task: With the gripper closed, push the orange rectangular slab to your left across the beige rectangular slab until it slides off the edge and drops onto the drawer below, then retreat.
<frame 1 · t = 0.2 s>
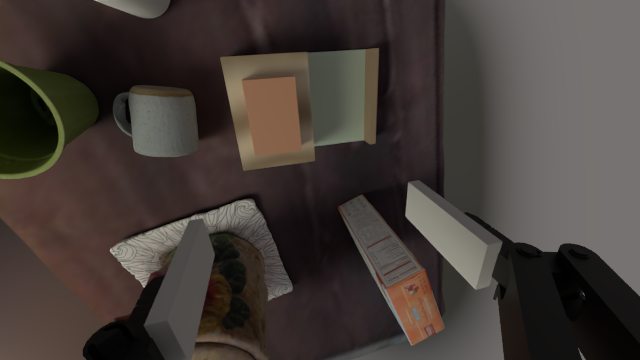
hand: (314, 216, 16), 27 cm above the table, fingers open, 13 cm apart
plant pot: (66, 102, 33), on the table
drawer: (337, 100, 41), on the table
ceramic mug: (164, 116, 36), on the table
orange rectangular slab: (273, 115, 33), point 7 cm above the table, touching beige rectangular slab
beige rectangular slab: (270, 106, 39), on the table
cookie jar: (215, 264, 49), on the table
cracker box: (361, 223, 52), on the table
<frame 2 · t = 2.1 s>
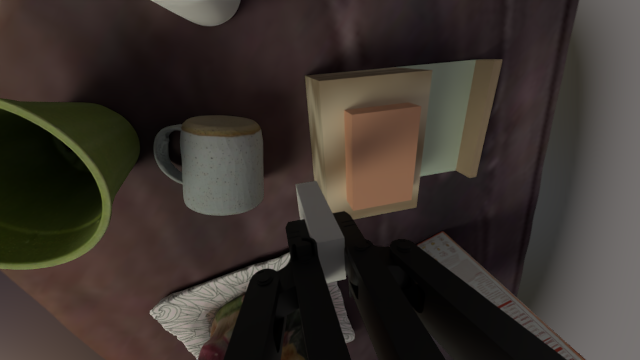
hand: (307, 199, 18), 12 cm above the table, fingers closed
plant pot: (98, 138, 25), on the table
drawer: (431, 123, 32), on the table
ceramic mug: (215, 151, 28), on the table
orange rectangular slab: (375, 154, 24), point 7 cm above the table, touching beige rectangular slab
beige rectangular slab: (351, 134, 30), on the table
cookie jar: (268, 316, 41), on the table
cracker box: (435, 262, 44), on the table
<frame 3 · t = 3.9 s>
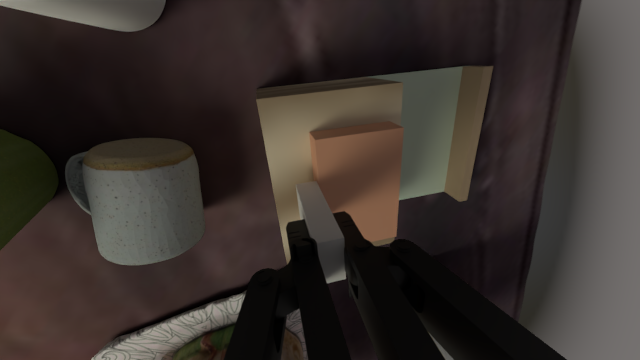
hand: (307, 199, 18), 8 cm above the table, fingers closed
plant pot: (5, 168, 21), on the table
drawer: (413, 140, 28), on the table
ceramic mug: (150, 178, 24), on the table
orange rectangular slab: (351, 183, 20), point 7 cm above the table
beige rectangular slab: (319, 155, 26), on the table
cookie jar: (238, 353, 36), on the table
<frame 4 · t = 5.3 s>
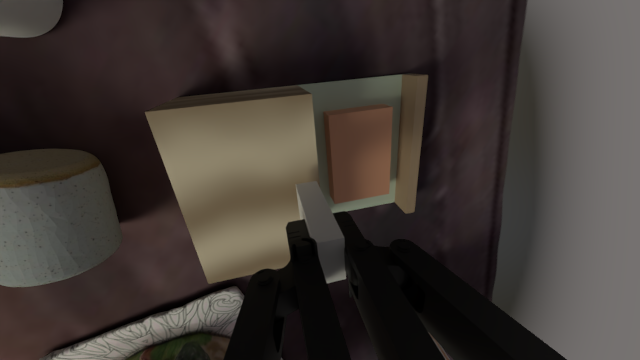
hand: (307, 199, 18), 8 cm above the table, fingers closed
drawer: (356, 150, 27), on the table
ceramic mug: (64, 190, 22), on the table
orange rectangular slab: (361, 158, 24), point 2 cm above the table, tilted 180°, touching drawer
beige rectangular slab: (254, 165, 25), on the table
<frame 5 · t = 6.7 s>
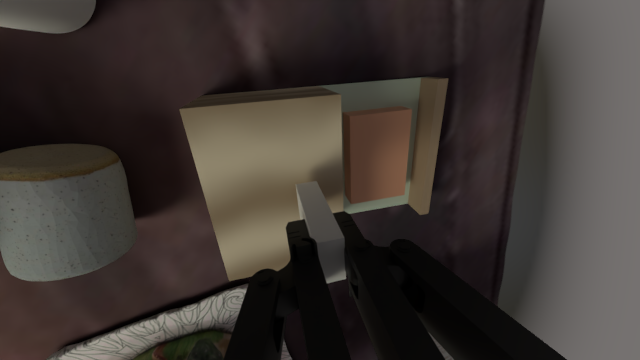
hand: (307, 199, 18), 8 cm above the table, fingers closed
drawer: (373, 151, 27), on the table
ceramic mug: (80, 186, 22), on the table
orange rectangular slab: (379, 159, 25), point 2 cm above the table, tilted 180°, touching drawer
beige rectangular slab: (273, 164, 25), on the table
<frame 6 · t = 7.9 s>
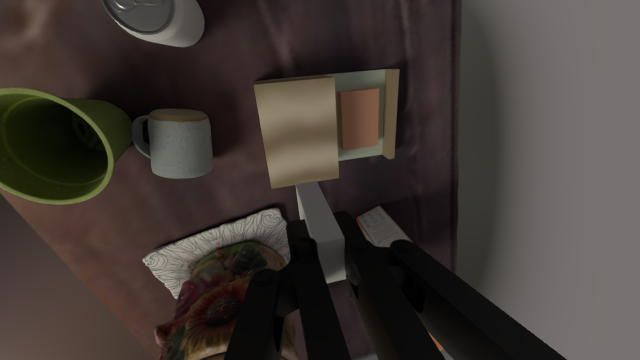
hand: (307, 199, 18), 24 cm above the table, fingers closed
plant pot: (104, 126, 35), on the table
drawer: (357, 117, 42), on the table
ceramic mug: (179, 136, 38), on the table
orange rectangular slab: (360, 120, 40), point 2 cm above the table, tilted 180°, touching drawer
beige rectangular slab: (294, 125, 40), on the table
can: (177, 18, 32), on the table
cookie jar: (240, 271, 50), on the table
cracker box: (377, 233, 54), on the table
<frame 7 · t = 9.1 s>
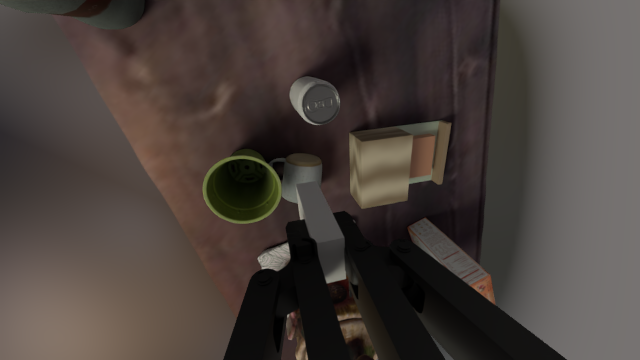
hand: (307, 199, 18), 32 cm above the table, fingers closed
plant pot: (246, 165, 50), on the table
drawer: (415, 154, 57), on the table
ceramic mug: (292, 170, 53), on the table
orange rectangular slab: (420, 158, 55), point 2 cm above the table, tilted 180°, touching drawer
beige rectangular slab: (371, 161, 55), on the table
can: (306, 95, 47), on the table
cookie jar: (318, 268, 65), on the table
cracker box: (421, 238, 69), on the table
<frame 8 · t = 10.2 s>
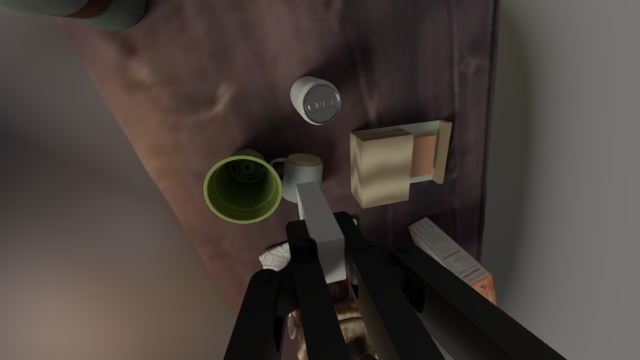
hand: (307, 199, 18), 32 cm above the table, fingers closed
plant pot: (246, 165, 50), on the table
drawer: (416, 153, 57), on the table
ceramic mug: (293, 170, 53), on the table
orange rectangular slab: (421, 157, 55), point 2 cm above the table, tilted 180°, touching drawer
beige rectangular slab: (372, 160, 55), on the table
can: (307, 94, 47), on the table
cookie jar: (320, 267, 65), on the table
cracker box: (422, 237, 69), on the table
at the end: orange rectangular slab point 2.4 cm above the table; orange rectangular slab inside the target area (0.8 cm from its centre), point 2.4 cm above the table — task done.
